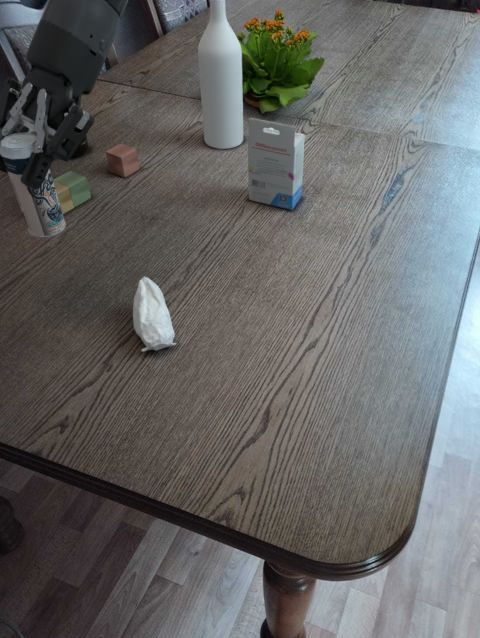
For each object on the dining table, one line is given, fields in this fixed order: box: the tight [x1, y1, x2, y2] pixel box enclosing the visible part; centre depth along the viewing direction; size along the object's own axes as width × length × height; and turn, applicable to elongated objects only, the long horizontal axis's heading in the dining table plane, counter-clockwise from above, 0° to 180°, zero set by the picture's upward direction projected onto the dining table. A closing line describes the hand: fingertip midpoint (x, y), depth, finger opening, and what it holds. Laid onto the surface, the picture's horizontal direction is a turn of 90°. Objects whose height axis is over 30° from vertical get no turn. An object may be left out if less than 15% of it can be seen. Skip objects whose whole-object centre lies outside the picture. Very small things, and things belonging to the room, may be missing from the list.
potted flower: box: [236, 9, 326, 115], centre depth 121 cm, size 25×24×18 cm
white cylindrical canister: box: [0, 132, 67, 239], centre depth 67 cm, size 5×5×12 cm
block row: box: [53, 143, 140, 215], centre depth 98 cm, size 4×20×4 cm, turn 146°
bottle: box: [197, 0, 244, 150], centre depth 102 cm, size 8×8×30 cm
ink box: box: [247, 117, 306, 211], centre depth 92 cm, size 8×5×15 cm, turn 66°
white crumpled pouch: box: [132, 275, 177, 353], centre depth 73 cm, size 5×7×10 cm
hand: (15, 177), depth 64 cm, fingers closed on white cylindrical canister, 4 cm apart
